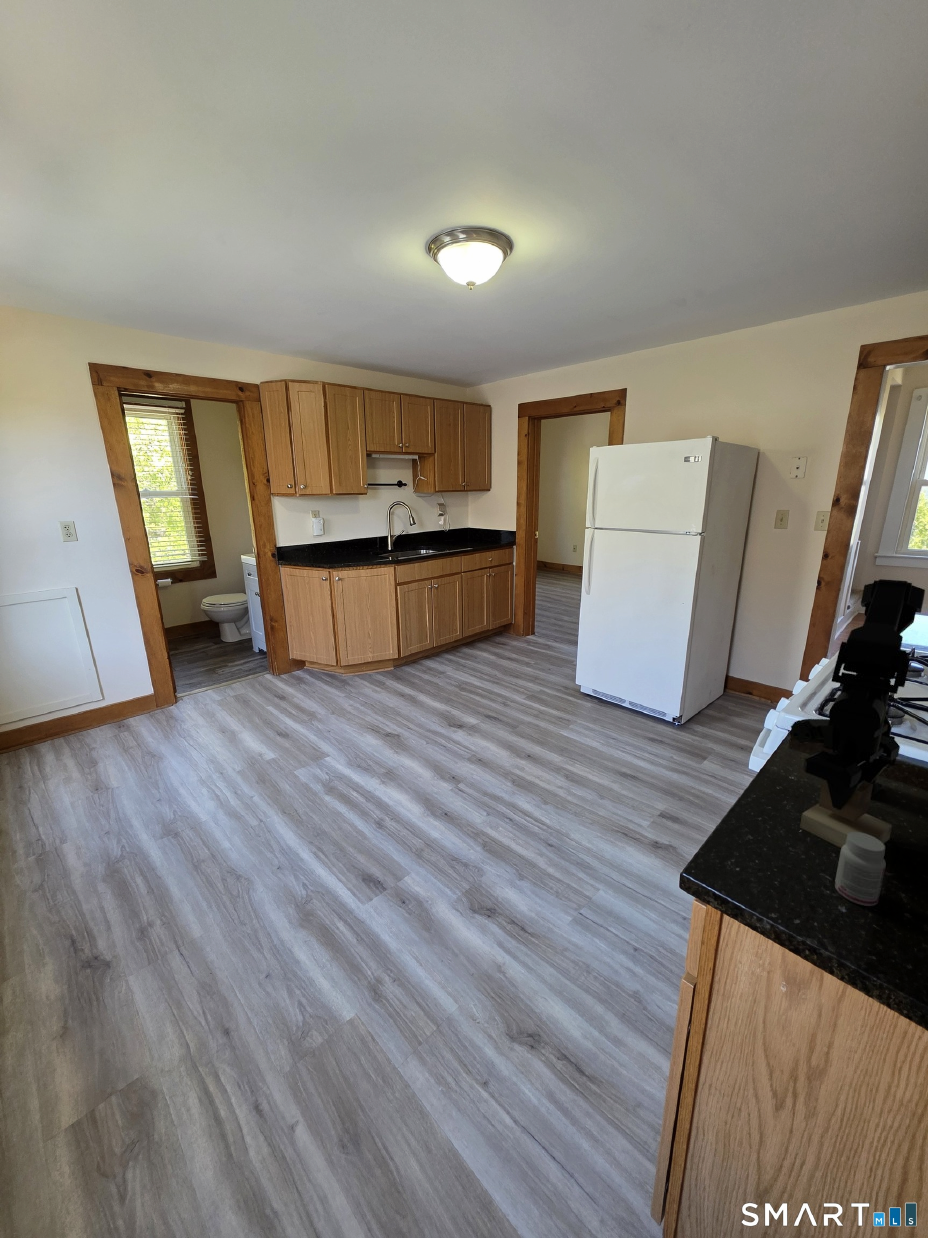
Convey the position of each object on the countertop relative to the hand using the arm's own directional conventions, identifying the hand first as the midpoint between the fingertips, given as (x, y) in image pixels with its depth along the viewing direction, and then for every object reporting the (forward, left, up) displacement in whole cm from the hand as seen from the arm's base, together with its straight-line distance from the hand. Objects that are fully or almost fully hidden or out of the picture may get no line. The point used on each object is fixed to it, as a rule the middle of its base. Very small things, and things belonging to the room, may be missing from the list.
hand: (844, 803), depth 79 cm
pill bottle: (+14, +8, -5) cm, 17 cm away
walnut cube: (0, 0, -1) cm, 1 cm away
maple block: (0, +1, -5) cm, 5 cm away
